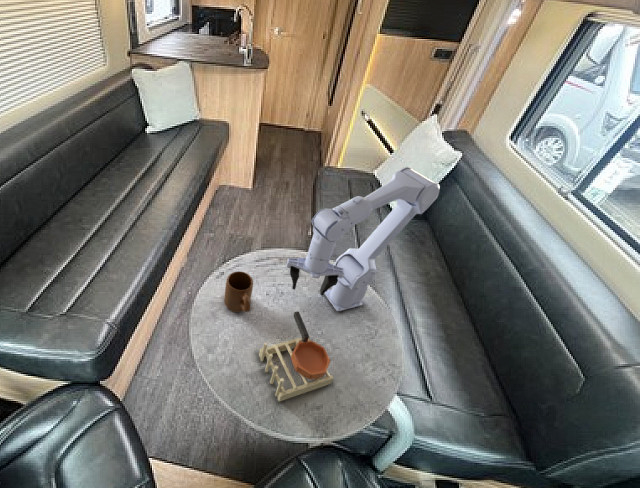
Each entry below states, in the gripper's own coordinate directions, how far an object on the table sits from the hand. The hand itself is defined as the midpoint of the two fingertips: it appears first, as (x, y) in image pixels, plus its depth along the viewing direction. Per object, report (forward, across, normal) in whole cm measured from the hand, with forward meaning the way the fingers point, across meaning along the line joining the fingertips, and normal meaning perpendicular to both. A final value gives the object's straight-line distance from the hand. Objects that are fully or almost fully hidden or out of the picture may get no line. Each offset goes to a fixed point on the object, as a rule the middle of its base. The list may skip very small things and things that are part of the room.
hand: (307, 289), depth 89 cm
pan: (+7, +1, -14) cm, 15 cm away
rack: (+10, -1, -18) cm, 21 cm away
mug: (+10, -18, -3) cm, 21 cm away
